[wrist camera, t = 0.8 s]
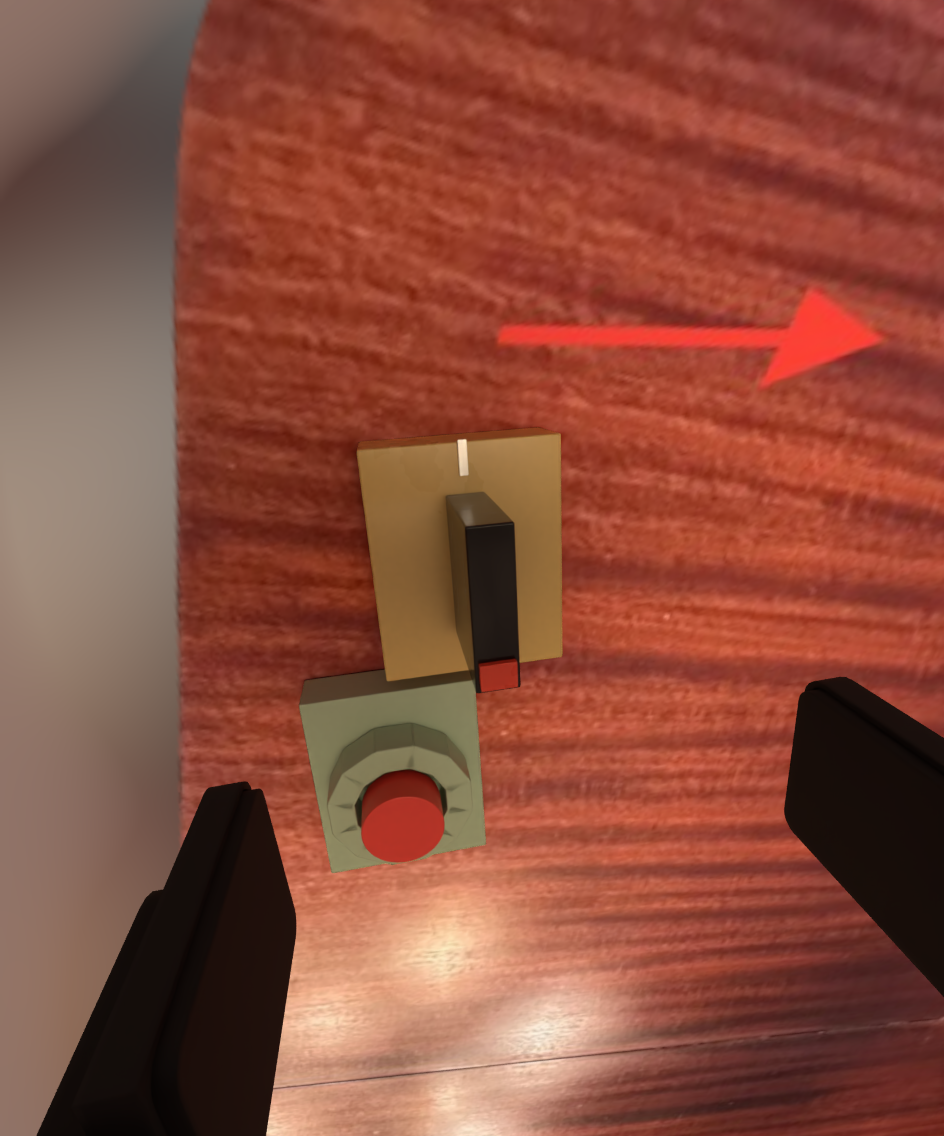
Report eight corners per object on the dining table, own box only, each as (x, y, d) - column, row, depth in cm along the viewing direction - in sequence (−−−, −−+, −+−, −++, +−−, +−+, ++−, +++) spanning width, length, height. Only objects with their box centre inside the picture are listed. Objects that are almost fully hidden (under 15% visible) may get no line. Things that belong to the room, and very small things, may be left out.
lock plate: (357, 439, 23) (355, 448, 20) (540, 424, 24) (562, 430, 21) (385, 652, 27) (386, 686, 24) (544, 631, 28) (564, 661, 25)
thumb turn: (445, 494, 22) (466, 529, 17) (484, 491, 22) (516, 523, 17) (455, 632, 24) (477, 698, 19) (492, 627, 24) (522, 691, 19)
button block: (304, 680, 26) (292, 729, 23) (467, 657, 28) (482, 701, 24) (334, 839, 30) (328, 905, 26) (478, 814, 31) (493, 873, 27)
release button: (357, 776, 24) (355, 805, 23) (436, 763, 25) (441, 790, 23) (367, 838, 26) (366, 869, 24) (443, 825, 26) (447, 854, 25)
